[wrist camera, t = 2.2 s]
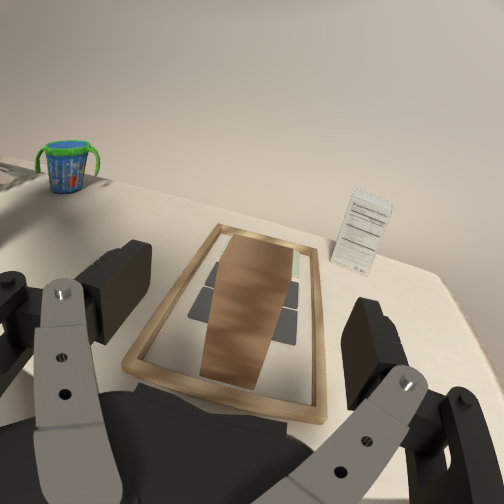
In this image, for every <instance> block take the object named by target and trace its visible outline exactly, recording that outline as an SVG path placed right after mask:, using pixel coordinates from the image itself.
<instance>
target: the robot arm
mask: <svg viewBox="0 0 504 504" xmlns="http://www.w3.org/2000/svg"><path fill="white" fill-rule="evenodd" d="M151 258H152V246H151V244H148V243H145V242H141V241H137V240H131V241H130V242H128V243H127V244H126V245H125V246H123V247H122V248H121V249H120V248H117V249H114V250H111V251H109V252H106V253H105V254H104V255H103V256H101V257H100V258H99V260H96V261H95V262H94V263H93V265H90V266H89V267H88V268H87V269H85V270H84V271H83V272H82V273H81V274H79V275H78V276H77V277H76V278H75V279H74V280H73V279H67V278H64V279H57V280H54V281H52V282H50V283H48V284H47V285H46V286H45V287H44V289H39V288H32V287H27V283H26V278H25V276H24V275H23V274H22V273H20V272H17V271H8V272H4V273H1V274H0V324H1V323H2V326H3V329H4V333H3V334H2V335H1V336H0V397H1V396H2V394H3V393H4V392H5V390H6V389H7V388H8V386H9V385H10V384H11V382H12V381H13V380H14V378H15V377H16V376H17V375H18V373H19V372H20V371H21V369H22V368H23V367H24V366H25V364H26V363H27V362H28V360H29V359H30V358H31V357H32V355H33V354H34V401H35V416H34V417H31V418H28V419H25V420H22V421H19V422H15V423H12V424H9V425H6V426H2V427H0V504H358V503H359V501H360V500H361V499H362V498H363V496H364V495H365V494H366V493H367V491H368V490H369V489H370V487H371V486H372V485H373V483H374V482H375V481H376V479H377V478H378V477H379V475H380V474H381V472H382V471H383V470H384V468H385V467H386V465H387V464H388V462H389V461H390V459H391V458H392V456H393V455H394V453H395V452H396V450H397V449H398V447H399V446H400V447H403V448H405V454H406V463H407V474H408V486H409V501H410V504H504V484H503V480H502V475H501V471H500V468H499V464H498V460H497V456H496V453H495V449H494V446H493V443H492V439H491V436H490V433H489V430H488V427H487V424H486V421H485V418H484V415H483V412H482V409H481V407H480V404H479V401H478V399H477V398H476V396H475V395H474V394H473V393H472V392H470V391H469V390H468V389H466V388H463V387H453V388H451V389H450V391H449V392H448V393H447V394H446V396H445V395H442V394H439V393H437V392H434V391H431V390H429V389H428V384H427V381H426V379H425V378H424V376H423V375H422V374H421V373H420V372H419V371H417V370H416V369H414V368H412V367H410V366H409V364H408V361H407V358H406V355H405V352H404V349H403V346H402V344H401V341H400V338H399V336H398V332H397V330H396V327H395V325H394V324H393V323H392V321H391V320H390V319H389V318H388V317H387V316H383V313H382V310H381V307H380V304H379V302H378V301H375V300H370V299H366V298H362V297H359V298H358V299H357V301H356V303H355V305H354V308H353V310H352V312H351V314H350V317H349V319H348V321H347V323H346V326H345V328H344V330H343V333H342V337H341V351H342V359H343V368H344V378H345V388H346V398H347V410H352V411H354V412H353V413H352V414H351V415H350V416H349V417H348V418H347V420H346V421H345V422H344V423H343V424H342V425H341V426H340V427H339V428H338V429H337V430H336V431H335V432H334V433H333V434H332V435H331V436H330V437H329V438H328V439H327V440H326V441H325V442H324V443H323V444H322V445H321V446H320V447H319V448H318V449H317V450H316V451H315V452H314V451H313V450H312V449H311V448H310V447H308V446H307V445H306V444H304V443H303V442H301V441H300V440H298V439H296V438H294V437H293V436H290V435H288V434H286V430H287V423H285V422H280V421H274V420H269V419H265V418H260V417H255V416H251V415H225V414H211V413H207V412H205V411H203V410H201V409H199V408H197V407H195V406H194V405H192V404H190V403H188V402H186V401H184V400H183V399H181V398H179V397H177V396H176V395H174V394H171V393H168V392H165V391H162V390H159V389H156V388H153V387H150V386H148V385H145V384H142V383H138V385H137V387H136V389H135V390H134V392H131V391H110V392H104V393H100V394H99V389H98V384H97V379H96V374H95V369H94V363H93V357H92V351H91V345H92V344H93V342H94V341H96V342H98V343H101V344H103V345H106V344H107V343H108V342H109V340H110V339H111V338H112V336H113V335H114V334H115V333H116V331H117V330H118V329H119V327H120V326H121V325H122V324H123V322H124V321H125V320H126V318H127V317H128V316H129V315H130V313H131V312H132V311H133V309H134V308H135V307H136V306H137V304H138V303H139V302H140V301H141V299H142V298H143V297H144V296H145V294H146V293H147V291H148V288H149V285H150V278H151ZM448 445H449V450H450V455H451V464H450V467H449V469H448V470H447V465H446V459H445V454H444V449H445V448H446V447H447V446H448Z"/></svg>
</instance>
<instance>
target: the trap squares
mask: <svg viewBox="0 0 504 504" xmlns="http://www.w3.org/2000/svg"><path fill="white" fill-rule="evenodd" d="M218 264H219V262H216V264H215V266H214V267H213V269H212V271H211V273H210V275H209V276H208V278H207V280H206V282H205V285H206V286H210V287H213V288H214V286H215V281H216V275H217V270H218ZM298 287H299V283H297V282H293V281H291V282H290V285H289V288H288V291H287V294H286V297H285V300H284V303H283V306H286V307H290V308H294V309H297V307H298ZM213 292H214V289H210V288H207V287H202V289H201V291H200V293H199V295H198V297H197V298H196V300H195V302H194V304H193V306H192V308H191V309H190V311H189V313H188V317H189V318H192V319H195V320H199V321H202V322H206V323H208V321H209V315H210V309H211V303H212V297H213ZM297 312H298V311H294V310H290V309H286V308H282V309H281V312H280V315H279V318H278V321H277V324H276V327H275V330H274V333H273V336H272V339H271V340H274V341H278V342H282V343H286V344H291V345H295V344H296V333H297Z"/></svg>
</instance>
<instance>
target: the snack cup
mask: <svg viewBox="0 0 504 504" xmlns="http://www.w3.org/2000/svg"><path fill="white" fill-rule="evenodd" d="M43 150H44V151H45V154H46V157H47V167H48V175H49V181H50V187H51V189H52V190H53V191H54V192H57V193H71V192H74V191H77V190H79V189H81V187H82V183H83V177H84V172H85V166H86V161H87V156H88V152H89V151H91V152H92V153H94V154H95V157H96V162H97V163H96V170H95V176H97V174H98V172H99V168H100V157H99V154H98V152H97V150H96V149H95V148H94V147H92V146H91V145H90V143H89V142H86V141H76V140H74V141H73V140H72V141H71V140H69V141H57V142H52V143H49V144H47V145H45V147H44V148H42V149H41V150H40V151H39V152H38V154H37V156H36V161H35V172H36V173H37V174H39V173H40V171H41V169H40V162H39V158H40V156H41V154H42V152H43Z"/></svg>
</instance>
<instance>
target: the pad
mask: <svg viewBox="0 0 504 504" xmlns="http://www.w3.org/2000/svg"><path fill="white" fill-rule="evenodd" d="M232 236H233V234H232V235H231V237H230V239H231V238H232ZM230 239H229V240H228V242H227V244H226V246H225V247H224V249H223V251H222V253H221V255H220V257H221V256H222V254H223V252H224V250H225V249H226V247H227V245H228V243H229V241H230ZM292 276H294V277H299V251H295V250H293V264H292Z"/></svg>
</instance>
